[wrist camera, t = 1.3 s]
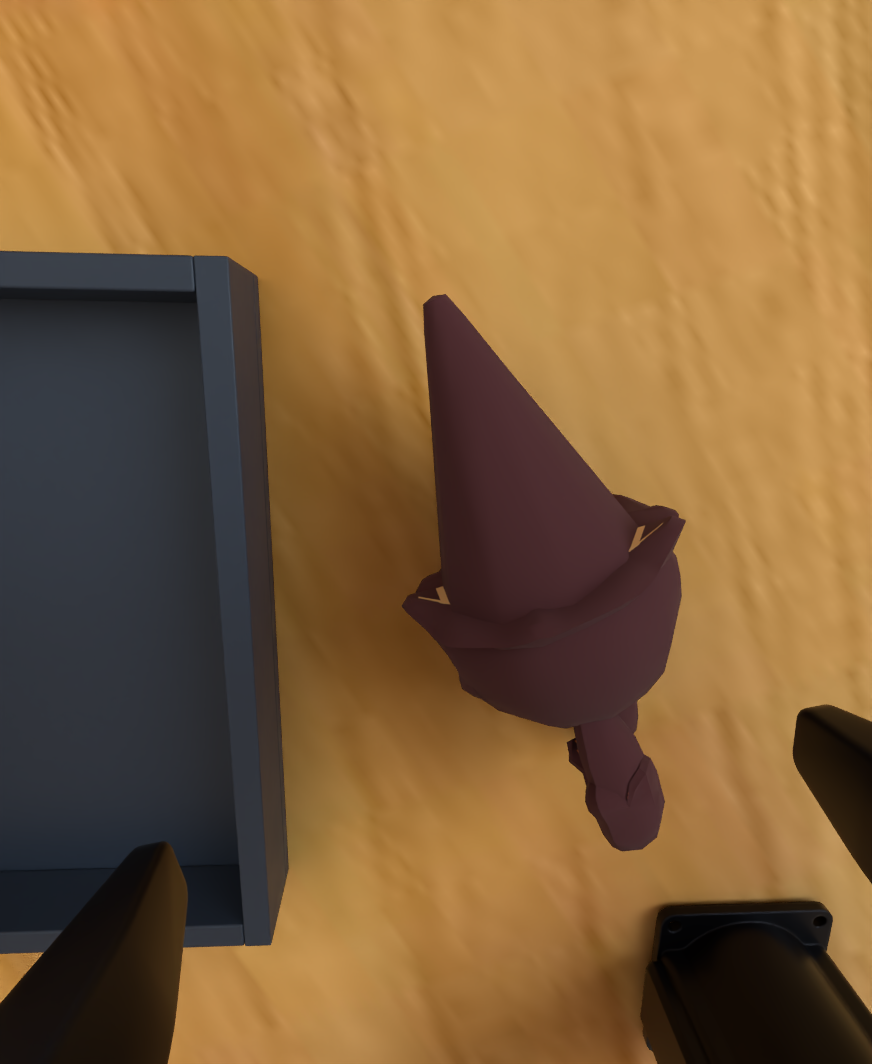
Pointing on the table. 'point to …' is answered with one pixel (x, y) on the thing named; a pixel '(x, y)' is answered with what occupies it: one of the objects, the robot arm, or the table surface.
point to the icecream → (545, 575)
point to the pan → (136, 592)
